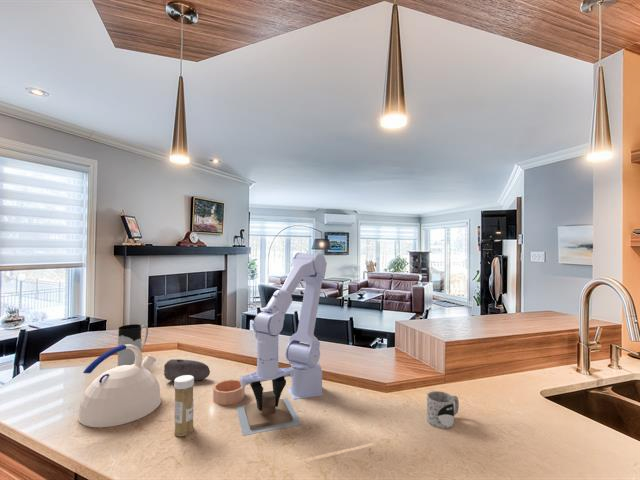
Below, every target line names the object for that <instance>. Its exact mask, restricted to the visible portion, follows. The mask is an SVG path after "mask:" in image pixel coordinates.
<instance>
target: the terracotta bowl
mask: <svg viewBox="0 0 640 480" xmlns="http://www.w3.org/2000/svg"><path fill="white" fill-rule="evenodd" d="M245 387H246V386H244V387H242V386H241V384H240V379H233V378H232V379H226V380H225V379H224V380H221V381H219V382H216V383H215V384H214V385H213V386H212V401H213V403H214V404H216V405H218V406H219V405H220V406H230V405H235V404H237V403H240V402H241V401H243V400H244V398H245V397H246V395H245V391H246V390H245V389H246V388H245Z"/></svg>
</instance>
